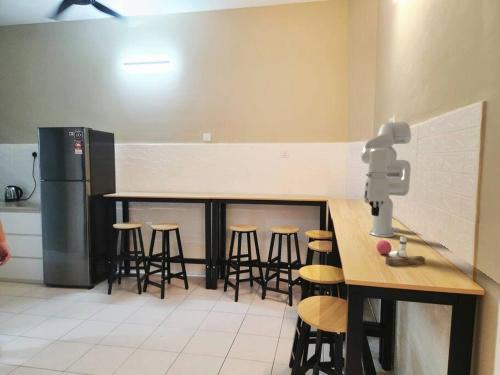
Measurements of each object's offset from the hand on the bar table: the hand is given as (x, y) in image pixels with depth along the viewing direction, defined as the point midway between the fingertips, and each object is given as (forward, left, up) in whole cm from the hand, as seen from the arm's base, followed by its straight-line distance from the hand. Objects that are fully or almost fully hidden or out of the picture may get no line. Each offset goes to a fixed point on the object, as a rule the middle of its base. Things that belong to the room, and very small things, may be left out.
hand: (374, 215), depth 145 cm
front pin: (0, +14, -14) cm, 20 cm away
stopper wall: (0, +22, -15) cm, 27 cm away
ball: (+1, +10, -12) cm, 16 cm away
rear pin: (-3, +16, -15) cm, 22 cm away
